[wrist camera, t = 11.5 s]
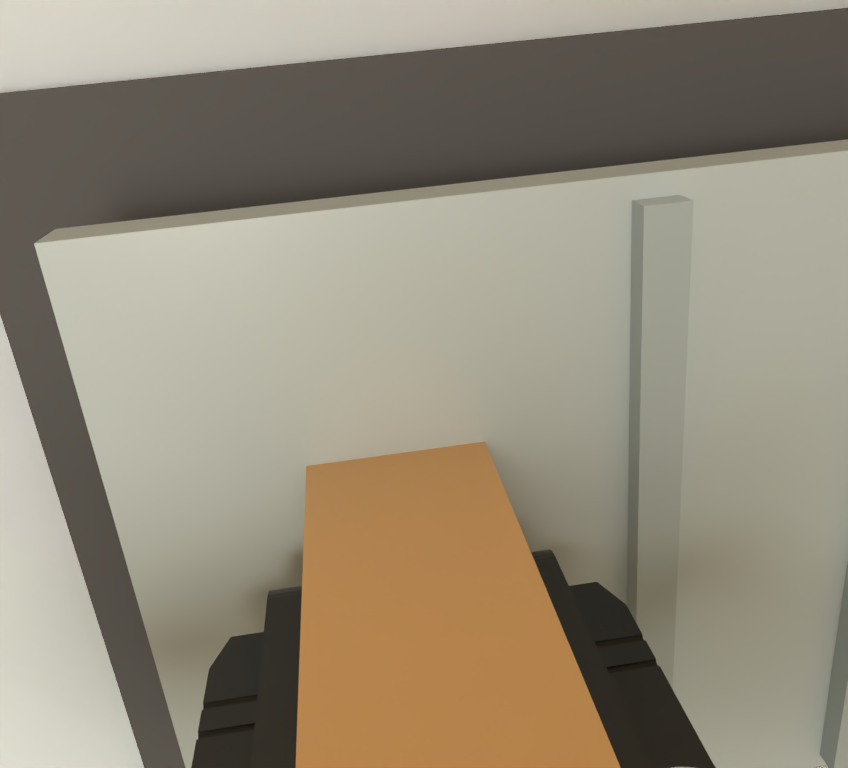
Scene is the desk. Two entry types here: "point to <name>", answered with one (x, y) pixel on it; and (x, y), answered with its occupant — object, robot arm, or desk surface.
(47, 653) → the desk surface
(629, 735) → the robot arm
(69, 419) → the mat
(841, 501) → the lid
